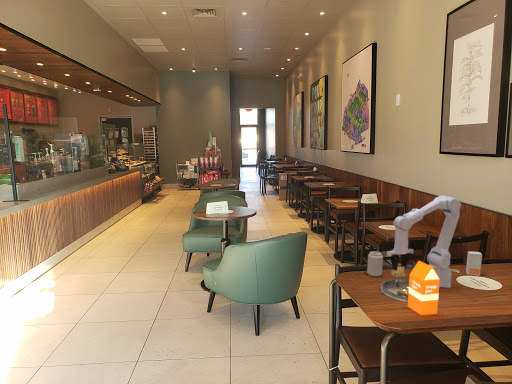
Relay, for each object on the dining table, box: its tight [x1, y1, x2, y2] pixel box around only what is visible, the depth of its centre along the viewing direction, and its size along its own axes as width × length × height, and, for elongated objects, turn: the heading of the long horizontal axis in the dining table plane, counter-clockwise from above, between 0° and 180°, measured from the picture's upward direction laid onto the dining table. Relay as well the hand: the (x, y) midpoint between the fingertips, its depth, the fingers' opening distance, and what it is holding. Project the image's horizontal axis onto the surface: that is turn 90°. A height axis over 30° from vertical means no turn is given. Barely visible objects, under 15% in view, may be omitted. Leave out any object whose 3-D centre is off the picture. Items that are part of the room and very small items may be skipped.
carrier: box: [380, 278, 410, 303], centre depth 176 cm, size 24×24×4 cm
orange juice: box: [407, 260, 440, 316], centre depth 157 cm, size 8×9×20 cm
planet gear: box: [390, 263, 407, 278], centre depth 182 cm, size 6×6×5 cm
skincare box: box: [465, 251, 483, 277], centre depth 202 cm, size 6×4×12 cm
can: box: [366, 250, 384, 277], centre depth 199 cm, size 8×8×12 cm
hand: (399, 269), depth 182 cm, fingers closed on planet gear, 5 cm apart
